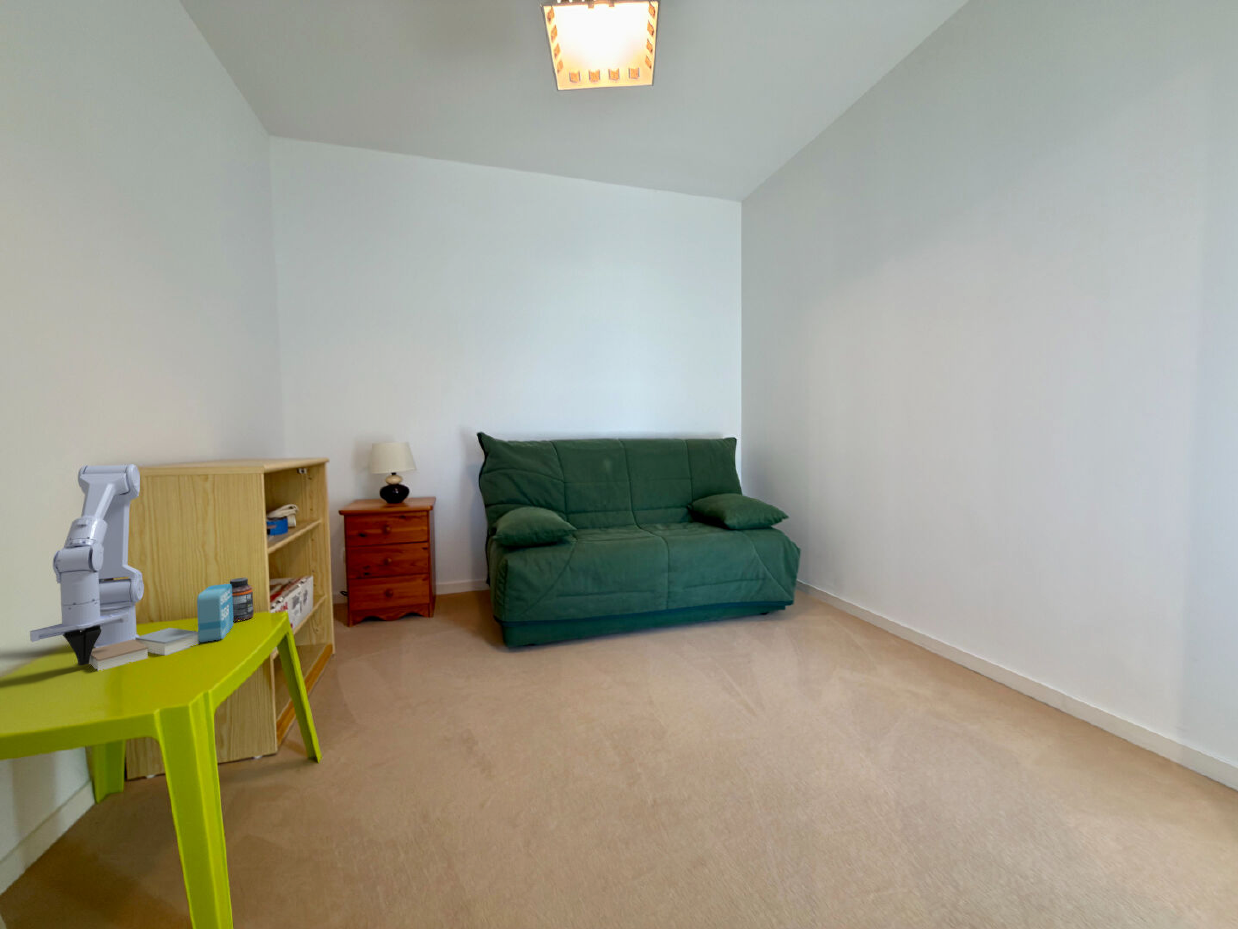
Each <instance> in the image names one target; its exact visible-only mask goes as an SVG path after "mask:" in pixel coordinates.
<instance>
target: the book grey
mask: <svg viewBox="0 0 1238 929" xmlns="http://www.w3.org/2000/svg"><path fill="white" fill-rule="evenodd" d="M198 634H199V632H198V631H196V630H190V629H189V630H188V629H183V628H181V629H179V628H174V627H173V628H172V627H168V628H164V629H160V630H158V631H154V632H150V633H146V634H143V635H139V637H136V638H135V639H136V641H138V642H140V643H142V644H143V645H145V646H147V647H148V649H147V652H149V653H148V654H150V653H151V654H154V653H155V654H156V655H161V656H168V655H171V654H174V653H177V652H181V651H184V650H187V649H191V647H190V646H193V645H196V644H199V645H200V642H199V636H198ZM196 646H197V645H196ZM193 647H194V646H193ZM155 654H154V655H155Z"/></svg>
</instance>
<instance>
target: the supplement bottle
mask: <svg viewBox="0 0 1238 929" xmlns="http://www.w3.org/2000/svg"><path fill="white" fill-rule="evenodd" d="M229 584H231V585H232V600H233V621H238V620H244V619H248V620H250V619H251V617H252V618H254V599H253V598H254V597H253V594H254V593H253V586H252V585H250V584H249V582H248V578H247V577H237V578H233V579H230V580H229ZM249 618H250V619H249Z"/></svg>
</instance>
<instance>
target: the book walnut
mask: <svg viewBox="0 0 1238 929" xmlns="http://www.w3.org/2000/svg"><path fill="white" fill-rule="evenodd" d="M147 649H148V647H147V646H145V645H143V644H142V643H140V642H138V641H136V640H135V639H132V640H128V641H124V642H119V643H115V644H111V645H107V646H103V647H99V648H95V647H93V649H92V652H91V655H90V660H89V664H88V665H90V664H91V665H92V666H93V667H92V666H91V665H90V666H91V667H92V668H94V669H95V670H96V669H97V670H96V671H97V672H100V671H99V670H101V671H103V669H104V670H108V669H111V668H115V667H119V666H122V665H127V664H130V663H129V662H131V663H134V662H137V661H141V660H142V661H143V660H145V659H149V657H148V656H149V655H148V654H149V653H148V652H147ZM126 663H127V664H126Z"/></svg>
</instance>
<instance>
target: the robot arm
mask: <svg viewBox="0 0 1238 929" xmlns="http://www.w3.org/2000/svg"><path fill="white" fill-rule="evenodd" d="M140 475H141V474H140V471H139V468H138V467H137V466H136V465H135V464H133V463H131V464H115V465H114V464H109V465H107V464H105V465H89V464H85V465H83V466H81V467H80V468H79V470H78V473H77V483H78V486H79V488H81V491H82V493H83V494H84V499H83V505H82V508H81V509H82V511H81V515H80V517H78V518H76V519H74V520H73V521H72V522H71V525H70V527H69V530H68V533H67V535H66V539H65V542H64V545H63V547H62V548H61V549H60V550H57V551H55V553H54V555H53V558H52V569H53V572H54V574H55V578H56V580H55V581H56V582H57V584H59V585H60V586H59V587H60V589H59V590H60V606H61V609H60V610H61V623H59V624H53V625H51V626H47V627H42V628H37V629H33V630H30V631H29V634H30V635H29V636H30V642H32V643H33V642H38V641H40V640H44V639H49V638H53V637H57V636H62V637H63V638H64V639H65V640H66V641H67V643H68V644H69V645H70V647H71V648H72V650H73V652H74V653H75V657H76V660H77V664H78V665H79V666H80V667H81V666H84V665H90V664H89V660H90V655H91V652H92V649H94V648H99V647H103V646H107V645H111V644H115V643H119V642H124V641H128V640H132V639H135V638H136V637H139V636H140V635H139V634H138V633H137V619H136V618H137V616H136V604H137V603H138V602H140V601H141V600H142V598H143V595H144V590H145V587H144V586H145V585H144V580H143V574H142V572H141V571H140V570H139V569H137V568H135V567H132V566H131V565H128V562H129V560H128V559H129V529H130V509H131V508H130V506H131V502H132V500H135V499H137V498H138V497H140V495H139V494H140V490H141V487H140V486H141V476H140ZM119 578H120V579H119ZM135 640H136V639H135Z"/></svg>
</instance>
